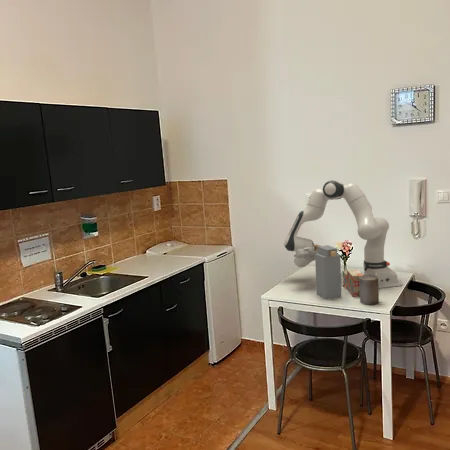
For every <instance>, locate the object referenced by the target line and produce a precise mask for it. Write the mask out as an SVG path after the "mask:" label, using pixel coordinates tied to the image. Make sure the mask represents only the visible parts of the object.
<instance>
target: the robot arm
mask: <svg viewBox="0 0 450 450" xmlns="http://www.w3.org/2000/svg"><path fill="white" fill-rule="evenodd" d="M341 199H344V200H345V201H346V203H347V205H348V207H349V209H350V210H351V212H352V214H353V215H354V218H355V221H356V224H357V235H358V236H359V238H360V239H362V240H364V241H366V243H365V245H364V248H363V253H364V259H363V275H375V276H377V277H378V287H379V289H383V288H385V289H386V288H392V287H394V288H395V287H401V286H403V282H402V280H400V279H399V277H398V274H397V272H396V271H394V270H393V269H391V268H390V267H389V266H390V265H391V263H390V262H389V261H387V260H385V243H386V238H387V233H388V230H389V228H390V224H389V221H388V220H387V219H385V218H382V217H374V215H373V208H372V207H373V206H372V204H371V203H370V201H369V200H368V198H367V196H366V195H365V193H364V191H363V190H362V189H361V188H360V186H359V185H358V184H356V183H355V182H350V183H348V184H346V185H344V184H343V183H342V182H340V181H338V180H329V181H327V182H325V183H324V184H323V187H322V188H315V189H313V190H312V192H311V194H310V196H309V199H308V201H307V204H306V207H305V208H304V209H303V210H302V211H300V212H299V213H298V214H297V216H296V218H295V220H294V223H293V224H292V227H291V229H290V231H289V233H288V234H287V236H286V238H285V240H284V244H283V245H284V248H285V249H286V251H288V252H295V254H294V255H293V257H294V261H293V263H294V264H295V265H294V266H296V267H297V268H304V267H308V266H309V264H311V263H312V262H314V261H315V254H317V253H318V251H316V250H315V249H316V248H315V246H314V247H312V245H315V243H314V241H313V240H312V239H311V238H305V237H300V236H297V235H298V233H299V231H300V229H301V226H302V225H303V224H304V223H306V222H312V221H313V222H314V221H317V220H319V219H321V218H322V217H323V216H324V213H325V210H326V207H327V203H328V201H330V200H332V201H333V200H341ZM325 246H327V245H325Z"/></svg>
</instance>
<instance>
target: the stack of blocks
mask: <svg viewBox="0 0 450 450" xmlns="http://www.w3.org/2000/svg"><path fill="white" fill-rule="evenodd" d="M362 275H364V273H362V272H361V271H360V270H359V269H346V270H342V280H343V281H342V283H343V284H342V285H343V286H344V289H346V291H348V293H349V294H350V296H351V297H353V298H356V297H360V285H359V277H360V276H362Z"/></svg>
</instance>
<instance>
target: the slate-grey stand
mask: <svg viewBox="0 0 450 450" xmlns="http://www.w3.org/2000/svg"><path fill="white" fill-rule="evenodd" d="M329 251H335V252H336V256H334V257H331V256H329ZM314 261H315V264H314V265H315V282H316V283H315V284H316V285H315V286H316V290H315V291H316V295H317V296H318V297H320V298H321V299H323V300H331V299H332V300H333V299H337V298H338V299H339V298H342V271H341V270H342V268H341V265H342V264H341V254H339V253H338V248H336V247H334V246H331V245H327V246H326V245H320V246H319V247H318V253H317V254H315V260H314Z"/></svg>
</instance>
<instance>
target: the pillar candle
mask: <svg viewBox="0 0 450 450" xmlns="http://www.w3.org/2000/svg"><path fill="white" fill-rule="evenodd" d="M359 285H360V296H359V302H360V303H361V304H364V305H367V306H372V305H377V304H379V302H380V300H379V299H380V298H379V295H380V293H379V291H380V288H379V287H378V277H377V276H375V275H364V274H363V275H362V276H360V277H359Z"/></svg>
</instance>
